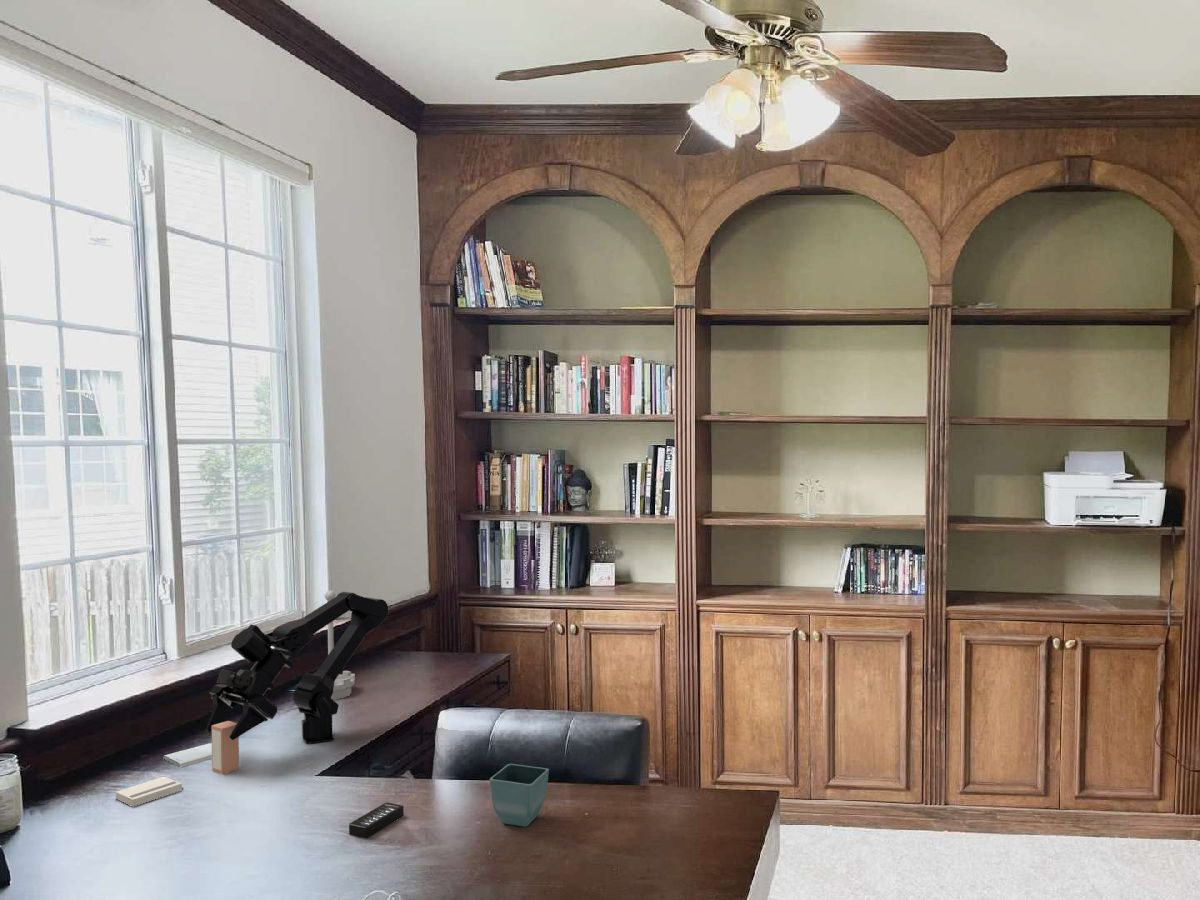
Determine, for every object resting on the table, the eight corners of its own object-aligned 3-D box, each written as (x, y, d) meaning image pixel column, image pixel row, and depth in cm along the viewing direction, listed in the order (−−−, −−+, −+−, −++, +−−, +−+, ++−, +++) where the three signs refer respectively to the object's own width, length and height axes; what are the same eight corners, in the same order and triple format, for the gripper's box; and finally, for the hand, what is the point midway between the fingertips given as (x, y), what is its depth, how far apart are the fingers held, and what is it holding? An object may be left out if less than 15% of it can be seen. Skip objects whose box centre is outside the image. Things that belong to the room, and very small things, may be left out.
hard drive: (179, 763, 198) (233, 747, 207) (163, 755, 203) (216, 740, 213) (179, 770, 198) (233, 754, 208) (163, 762, 203) (216, 747, 213)
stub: (228, 765, 199) (228, 720, 199) (239, 768, 197) (238, 723, 197) (211, 770, 196) (211, 725, 196) (222, 774, 194) (221, 728, 194)
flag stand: (320, 687, 262) (318, 586, 261) (362, 689, 260) (360, 586, 260) (299, 700, 249) (297, 594, 248) (343, 702, 247) (341, 594, 247)
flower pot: (550, 814, 171) (550, 767, 171) (532, 833, 163) (531, 784, 162) (509, 808, 174) (508, 762, 174) (488, 827, 165) (488, 779, 165)
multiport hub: (348, 836, 163) (347, 823, 163) (386, 813, 173) (386, 801, 173) (367, 840, 161) (366, 828, 161) (404, 817, 171) (404, 805, 171)
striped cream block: (167, 782, 189) (166, 775, 189) (184, 789, 185) (184, 782, 185) (115, 799, 181) (115, 791, 181) (133, 807, 177) (132, 799, 177)
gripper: (216, 649, 205) (170, 708, 196) (264, 659, 194) (218, 723, 185) (248, 675, 211) (205, 734, 203) (296, 687, 200) (253, 750, 192)
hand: (219, 735), depth 195 cm, fingers open, 9 cm apart
